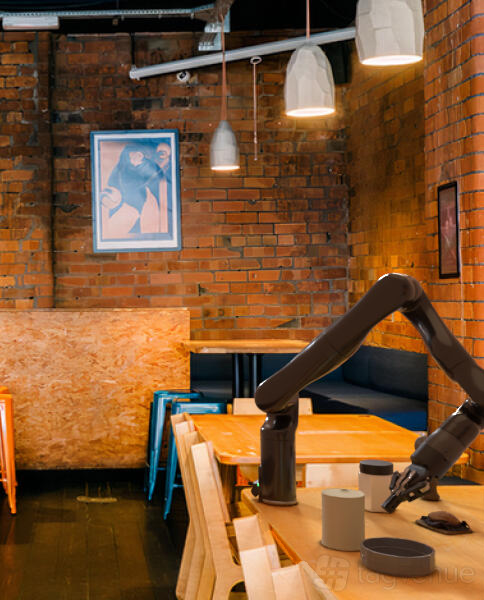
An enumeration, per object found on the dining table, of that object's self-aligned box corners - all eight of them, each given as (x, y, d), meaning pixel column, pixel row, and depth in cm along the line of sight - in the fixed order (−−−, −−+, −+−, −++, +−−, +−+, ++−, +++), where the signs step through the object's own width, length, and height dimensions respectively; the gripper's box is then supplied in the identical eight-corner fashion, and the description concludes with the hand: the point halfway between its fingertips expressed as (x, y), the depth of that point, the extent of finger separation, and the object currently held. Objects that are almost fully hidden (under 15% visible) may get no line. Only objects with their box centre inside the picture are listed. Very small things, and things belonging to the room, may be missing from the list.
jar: (366, 502, 213) (365, 458, 213) (398, 507, 207) (397, 461, 208) (354, 509, 206) (354, 463, 206) (388, 514, 201) (387, 467, 201)
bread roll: (412, 523, 193) (411, 508, 193) (441, 520, 195) (440, 505, 195) (445, 535, 183) (445, 519, 183) (475, 532, 185) (475, 516, 185)
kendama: (437, 495, 220) (436, 423, 220) (446, 503, 211) (445, 428, 211) (414, 494, 222) (413, 422, 222) (421, 502, 213) (420, 427, 213)
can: (366, 541, 178) (366, 488, 178) (365, 553, 170) (364, 497, 170) (323, 536, 182) (322, 484, 182) (319, 548, 174) (318, 493, 174)
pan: (355, 570, 159) (355, 550, 159) (366, 552, 171) (365, 533, 171) (432, 582, 152) (432, 561, 152) (437, 562, 164) (437, 542, 164)
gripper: (410, 437, 184) (359, 491, 183) (443, 447, 171) (388, 505, 170) (432, 459, 184) (382, 514, 183) (467, 471, 171) (413, 530, 170)
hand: (385, 510), depth 177 cm, fingers closed
